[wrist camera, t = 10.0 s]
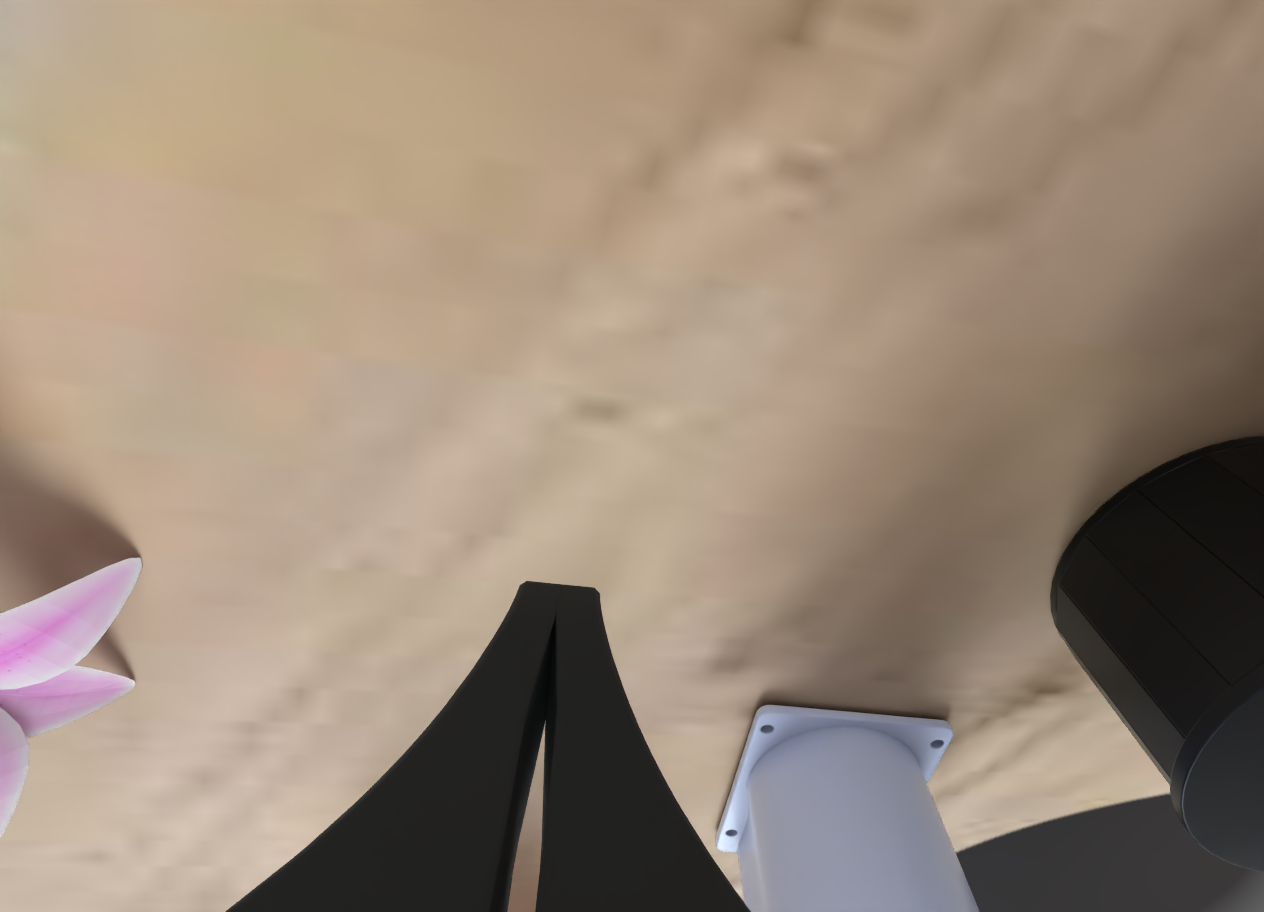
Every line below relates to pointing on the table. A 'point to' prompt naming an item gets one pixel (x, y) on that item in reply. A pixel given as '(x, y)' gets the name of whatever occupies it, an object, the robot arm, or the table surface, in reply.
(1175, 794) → the pot lid
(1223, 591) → the pot
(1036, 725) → the table surface
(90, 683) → the lily
